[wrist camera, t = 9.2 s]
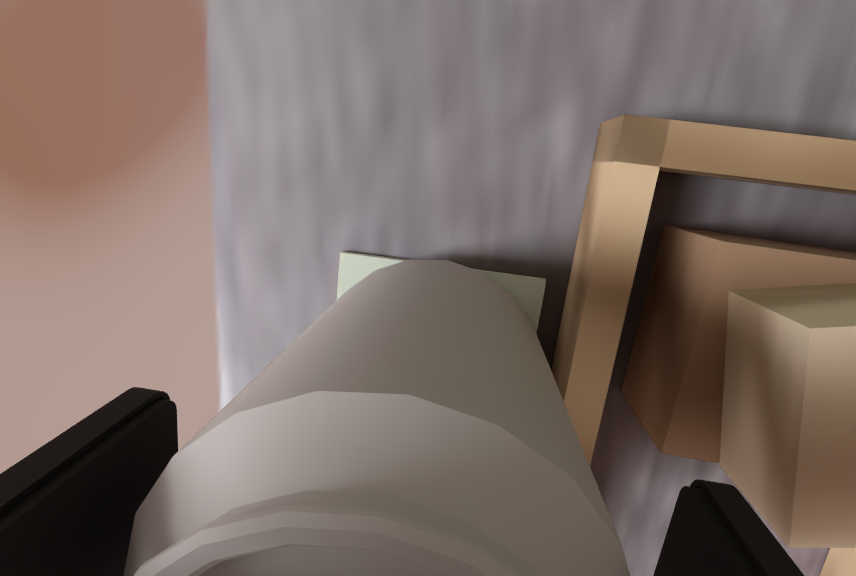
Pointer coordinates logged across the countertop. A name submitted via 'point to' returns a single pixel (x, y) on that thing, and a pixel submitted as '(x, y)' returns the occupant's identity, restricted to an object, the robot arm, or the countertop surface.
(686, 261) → the offcut large
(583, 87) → the countertop surface
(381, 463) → the can
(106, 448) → the robot arm
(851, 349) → the offcut small
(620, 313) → the frame
